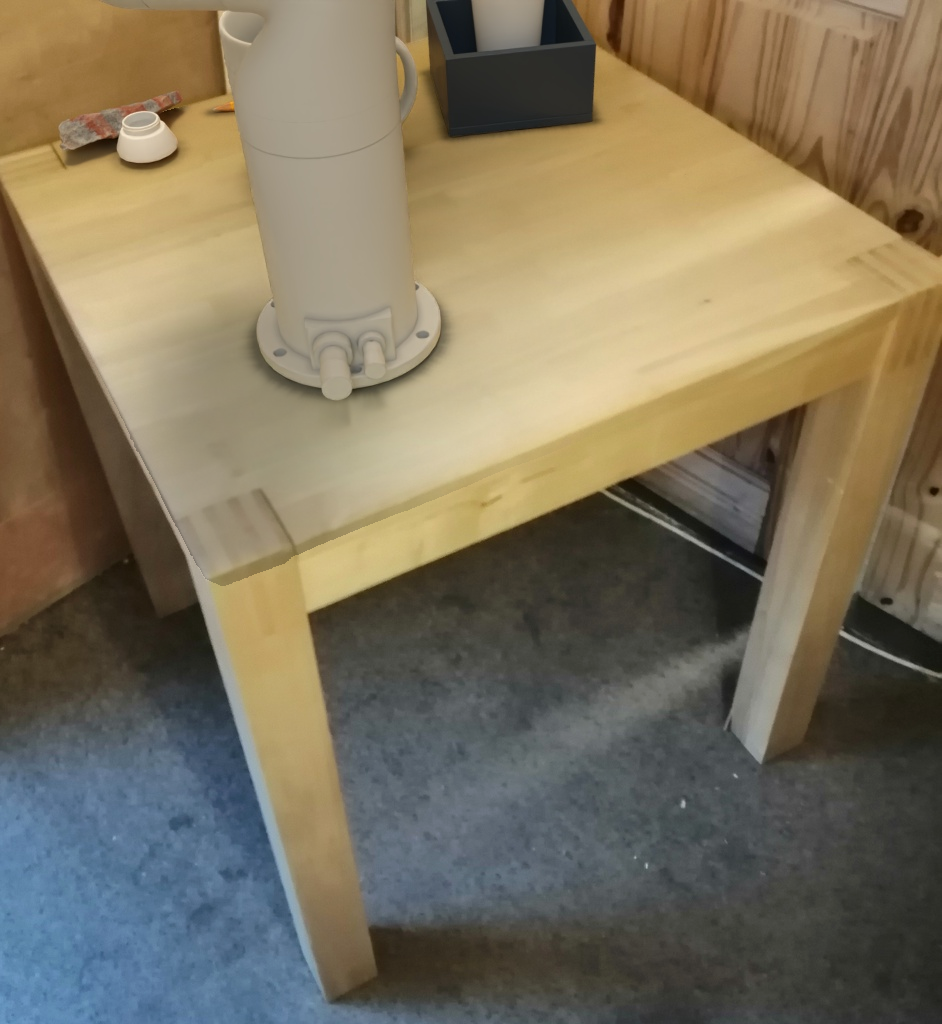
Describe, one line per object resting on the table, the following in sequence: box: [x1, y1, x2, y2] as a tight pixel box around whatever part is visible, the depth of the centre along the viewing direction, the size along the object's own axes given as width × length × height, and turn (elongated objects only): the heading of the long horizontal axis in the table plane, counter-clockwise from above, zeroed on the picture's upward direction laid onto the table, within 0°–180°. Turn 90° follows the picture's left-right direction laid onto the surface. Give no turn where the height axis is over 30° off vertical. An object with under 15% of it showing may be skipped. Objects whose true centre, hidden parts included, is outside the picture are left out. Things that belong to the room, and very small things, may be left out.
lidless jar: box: [116, 111, 179, 164], centre depth 91 cm, size 5×3×5 cm
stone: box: [57, 89, 184, 151], centre depth 94 cm, size 12×2×5 cm
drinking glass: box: [471, 0, 545, 52], centre depth 91 cm, size 7×7×15 cm
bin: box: [425, 0, 597, 138], centre depth 95 cm, size 13×13×7 cm
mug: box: [218, 11, 418, 124], centre depth 85 cm, size 15×11×13 cm
